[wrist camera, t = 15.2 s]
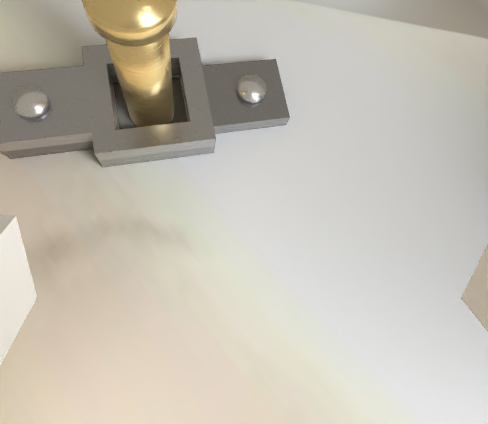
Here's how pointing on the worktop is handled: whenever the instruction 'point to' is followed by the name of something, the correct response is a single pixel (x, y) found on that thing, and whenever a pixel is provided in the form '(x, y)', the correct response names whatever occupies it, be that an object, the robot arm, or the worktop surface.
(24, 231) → the worktop surface
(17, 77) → the grey flange mount bracket
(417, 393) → the worktop surface
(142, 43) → the brass pin
